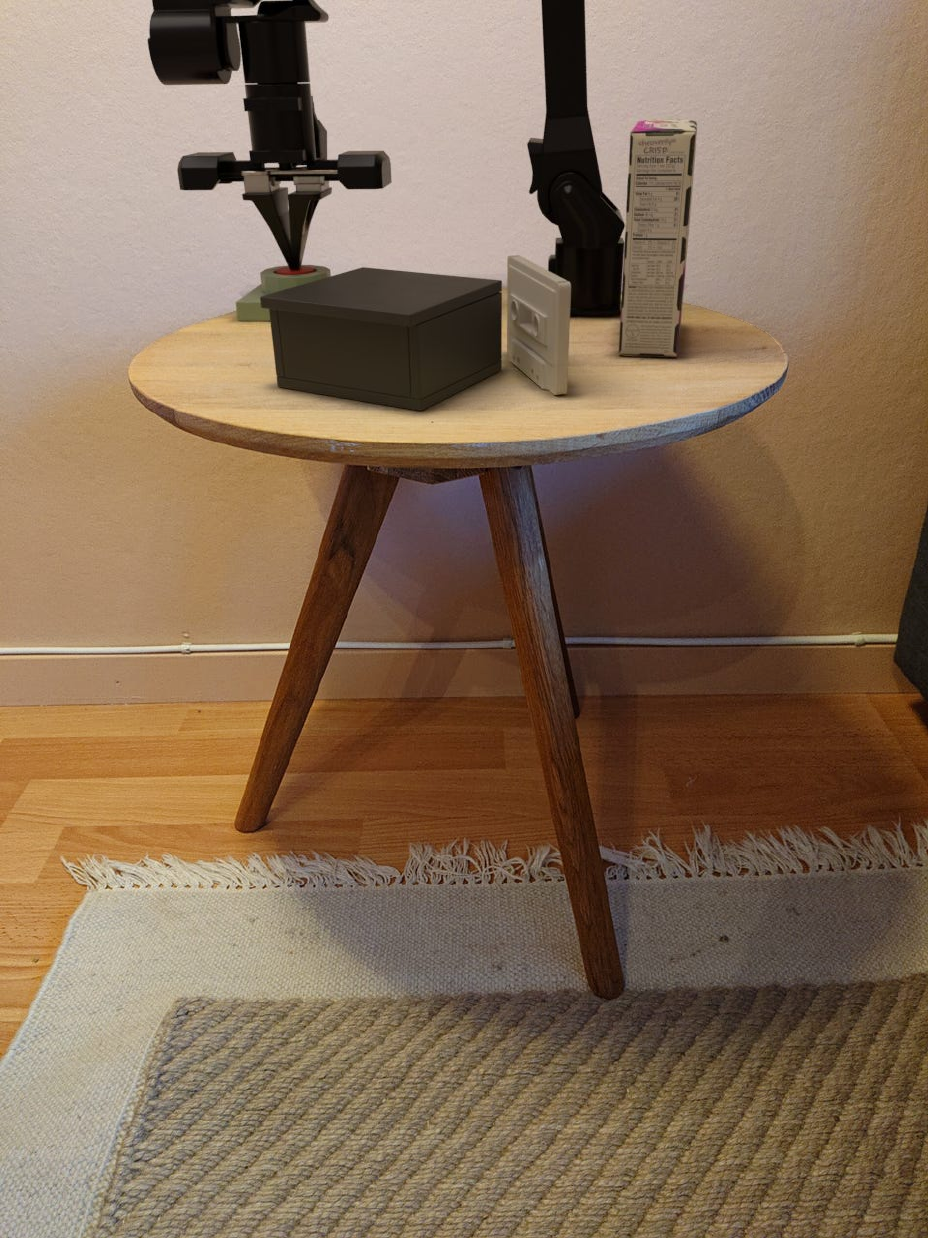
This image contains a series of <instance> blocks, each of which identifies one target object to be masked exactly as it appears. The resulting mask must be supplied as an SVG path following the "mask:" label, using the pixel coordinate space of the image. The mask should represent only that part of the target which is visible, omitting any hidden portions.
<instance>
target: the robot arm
mask: <svg viewBox="0 0 928 1238" xmlns="http://www.w3.org/2000/svg"><path fill="white" fill-rule="evenodd" d="M540 1H541V22H542V23H541V24H542V42H543V43H542V44H543V46H542V47H543V63H544V64H543V68H544V69H543V70H544V89H545V90H544V92H545V119H544V127H543V128H544V129H543V136H542V138H537V137H530V138H529V139H528V141H527V144H526V146H527V152H528V157H529V161H530V165H531V171H532V175H531V183H530V187H529V190H528V193H529V195H533V194H535V193H536V197H537V198H536V199H537V204H538V208H539V210H540V212H541V214H542V215H543V216H544V217H545V218H546V219H547V220H548V221H549V222H550V223H551V224H552V225H555V226H557V228H558V231H559V234H560V237H555V241H554V242H555V244H554V245H555V246H554V247H555V248H554V254H550V255H549V256H548V262H547V263H548V265H547V270H548V271H550V272H552V273H553V274H555V275H557V276H559V277H561V278H563V279H565V280H567V281H568V282H570V284H571V302H570V316H621V301H622V283H623V263H624V245H625V239H624V238H623V237H622V235H623V232H624V231H625V227H626V223H625V221H624V219H623V215H622V213H621V210H620V209H619V207H617V206H616V204H615V203H614V202H613V201H612V200H611V199H610V198H609V197H608V196H607V194H606V193H605V192H604V190H603V182H602V177H601V172H600V166H599V162H598V156H597V150H596V146H595V140H594V135H593V129H592V124H591V118H590V114H589V109H588V79H587V78H588V77H587V74H588V73H587V38H586V37H587V36H586V0H540ZM151 2H152V3H151V4H152V9H153V10H152V13H151V15H150V19H149V30H148V31H149V33H148V34H149V37H148V38H147V47H148V53H149V58H150V61H151V65H152V69H153V71H154V73H155V76H156V77H157V79H158V81H159V82H160V83H161V84H162V85H164V86H200V85H201V86H202V85H203V86H204V85H205V86H206V85H207V86H208V85H210V86H211V85H212V86H213V85H228V84H229V83H230V82H231V78H232V74H233V72H238V71H239V70H240V68H241V64H242V71H243V81H244V89H245V97H243V98H242V100H243V109H244V112H247V117H248V118H247V119H248V125H249V126H248V128H249V133H250V134H249V135H250V145H251V150H249V151H248V153H249V159H240V160H239V159H237V158H236V156H235V153H234V151H203V152H201V151H200V152H199V151H198V152H195V153H194V152H193V153H190V154H186V155H182V156H181V158H180V160H179V161H178V163H177V169H176V171H177V178H178V184H179V190H180V191H214V190H215V188H216V187H217V185H220V184H221V185H225V184H226V185H227V184H232V183H234V182H235V183H236V182H238V183H239V182H241V183H243V187H244V192H243V193H242V194H241V197H242V200H243V201H250V202H252V203H253V205H254V206H255V208H256V209H257V211H258V212H259V214H260V215H261V217H262V219H263V220H264V222H265V224H266V225H267V226H268V228H269V230H270V232H271V234H272V236H273V238H274V240H275V242H276V244H277V247H278V248H279V250H280V252H281V254H282V256H283V258H284V260H285V263H286V264H287V266H289V268H290V270H299V269H300V268H301V265H303V264H302V263H303V259H304V254H305V250H306V245H307V241H308V236H309V231H310V227H311V223H312V221H313V218H314V215H315V211H316V209H317V207H318V205H319V202H320V200H322V199H325V198H326V197H328V196H330V195H332V191H333V187H331V186H330V182H339V183H340V184H341V185H342V186H343V187H344V188H345V189H346V190H381V189H384V188H386V187H387V186H389V185H390V184H392V163H391V159H390V156H389V155H388V153H386V152H385V150H347V151H344V152H341V153H339V154H337V155H338V156H337V159H328V130H327V129H326V128H325V126H324V125H323V123H322V121H320V119H319V118H318V117H317V114H316V111H315V110H316V109H315V103H314V95H312V89H311V87H312V86H311V77H310V63H309V52H308V40H307V29H306V24H313V23H316V24H317V23H318V24H319V23H327V22H328V21H329V19H330V17H329V16H330V15H329V13H328V12H326V11H325V10H324V9H323V8H322V7H321V6H320V5H319V4H318V3H317V2H316V1H315V0H151ZM256 6H258V7H257V11H256V14H249V15H246V14H245V15H232V10H233V9H235V10H236V9H237V10H238V9H253V8H255V7H256ZM241 62H242V63H241ZM265 164H277V165H278V166H266V165H265ZM282 182H293V186H295V191H293V192H290V193H289V187H287V186H283V187H281V185H280V184H281V183H282Z"/></svg>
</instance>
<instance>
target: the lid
mask: <svg viewBox="0 0 928 1238" xmlns="http://www.w3.org/2000/svg"><path fill="white" fill-rule="evenodd" d="M498 292H501V293H502V292H503V281H502V280H501V279H490V278H479V277H470V276H458V275H448V274H439V273H427V272H418V271H417V272H416V271H409V270H408V271H407V270H406V271H405V270H396V269H386V268H377V267H376V268H374V267H366V266H365V267H364V266H362V267H359V268H355V269H351V270H348V271H345V272H341V273H338V274H335V275H331V277H327V278H324V279H320V280H317V281H313V282H310V283H306V284H303V285H299V286H296V287H292V288H289V289H285V290H282V291H278V292H275V293H271V294H268V295H264V296H261V297H260V302H261V308H265V309H273V310H281V311H289V312H297V313H305V314H313V315H321V316H329V317H337V318H345V319H353V320H361V321H369V322H377V323H385V324H393V325H401V326H409V327H411V326H414V325H417V324H419V323H422V322H424V321H427V320H429V319H432V318H434V317H437V316H440V315H442V314H445V313H447V312H450V311H452V310H455V309H457V308H460V307H463V306H465V305H468V304H470V303H473V302H475V301H478V300H480V299H483V298H486V297H488V296H491V295H493V294H496V293H498Z"/></svg>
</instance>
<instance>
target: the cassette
mask: <svg viewBox="0 0 928 1238" xmlns="http://www.w3.org/2000/svg"><path fill="white" fill-rule="evenodd" d="M506 260H507V261H506V263H507V265H506V266H507V267H506V268H507V269H506V270H507V271H506V272H507V273H506V274H507V275H506V276H507V279H506V280H507V282H506V284H507V285H506V287H507V288H506V299H507V300H506V302H507V303H506V304H507V305H506V308H507V309H506V354H507V355H506V356H507V357H508V358H509V360H508V361H509V362H510V363H511V364H512V365H514V366H515V367H516V368H517V369H519V370H520V371H521V373H523V374H524V375H526V377H528V378H529V379H530V380H531V381H532V382H534V383H535V384H536V385H537V386H538V387H540V388H541V389H542V390H547V391H549V392H550V393H551V394H553V395H554V396H558V395H559V396H560V395H566V394H567V393H568V383H569V382H568V380H569V355H570V327H571V325H570V323H571V315H570V302H571V284H570V282H568V281H567V280H565V279H563V278H561V277H559V276H557V275H555V274H553V273H552V272H550V271H548V269H546V268H544V267H542V266H541V265H538V264H536V263H535V262H533V261H532V260H531V261H530V260H529V259H526V257H523V256H522V255H520V254H516V255H508V256H507V259H506Z"/></svg>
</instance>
